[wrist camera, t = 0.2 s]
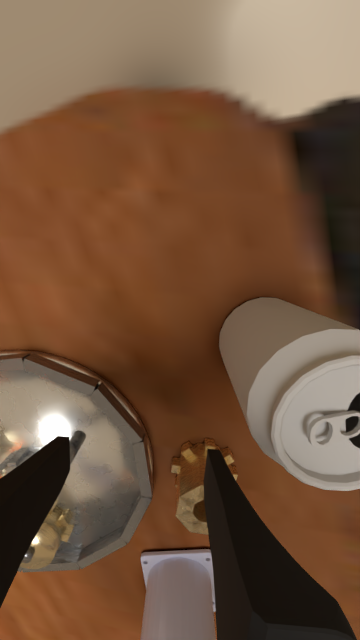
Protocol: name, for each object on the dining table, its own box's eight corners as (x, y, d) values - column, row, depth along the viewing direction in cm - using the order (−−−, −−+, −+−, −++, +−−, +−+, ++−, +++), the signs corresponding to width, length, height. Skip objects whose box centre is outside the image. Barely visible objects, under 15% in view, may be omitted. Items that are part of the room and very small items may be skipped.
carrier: (165, 542, 27) (162, 595, 22) (-39, 552, 28) (-79, 605, 24) (134, 338, 21) (122, 357, 17) (-119, 361, 22) (-191, 385, 18)
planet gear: (247, 471, 24) (261, 519, 20) (195, 500, 25) (198, 551, 21) (212, 427, 23) (218, 466, 19) (159, 458, 24) (153, 503, 20)
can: (303, 372, 22) (442, 501, 10) (221, 381, 22) (261, 515, 10) (303, 290, 20) (471, 329, 8) (213, 301, 20) (252, 353, 9)
